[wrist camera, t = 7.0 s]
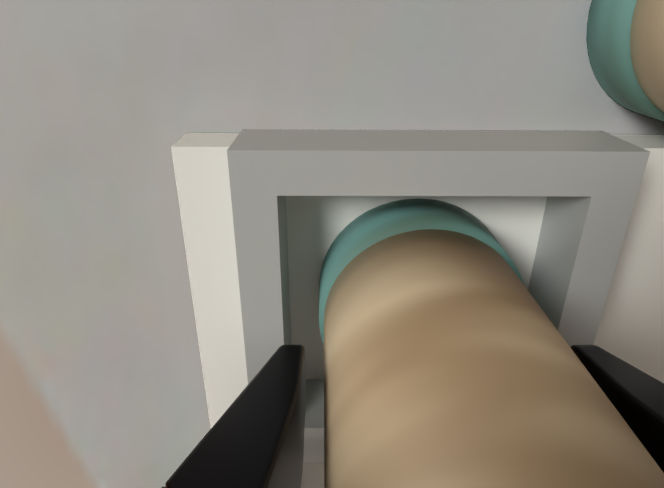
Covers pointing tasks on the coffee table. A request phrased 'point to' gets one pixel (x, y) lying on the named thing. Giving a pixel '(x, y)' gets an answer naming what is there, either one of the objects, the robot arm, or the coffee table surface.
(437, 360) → the tan teal rounded cylinder
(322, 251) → the socket board
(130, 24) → the coffee table surface
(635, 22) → the tan domed cylinder
